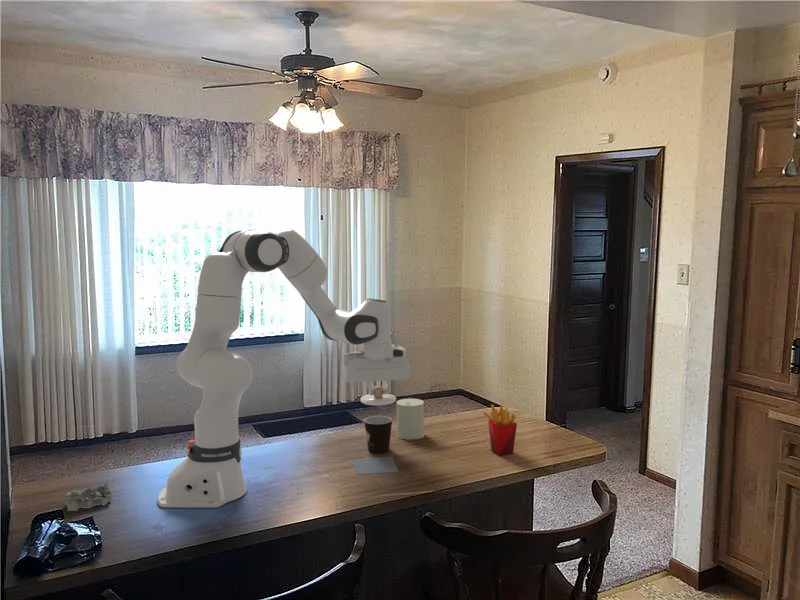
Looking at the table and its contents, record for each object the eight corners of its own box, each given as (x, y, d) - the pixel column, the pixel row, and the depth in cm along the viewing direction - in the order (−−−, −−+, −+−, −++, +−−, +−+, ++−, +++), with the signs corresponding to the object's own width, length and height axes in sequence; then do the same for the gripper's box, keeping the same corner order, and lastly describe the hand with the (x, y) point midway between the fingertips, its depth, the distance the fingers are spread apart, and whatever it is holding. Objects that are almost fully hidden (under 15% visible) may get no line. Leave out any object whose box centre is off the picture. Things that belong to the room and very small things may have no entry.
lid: (362, 406, 202) (362, 392, 201) (358, 396, 213) (358, 383, 212) (398, 404, 204) (398, 390, 203) (392, 394, 214) (392, 381, 214)
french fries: (506, 447, 210) (506, 401, 209) (520, 456, 203) (520, 408, 201) (481, 451, 207) (481, 404, 205) (494, 460, 200) (494, 411, 198)
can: (393, 439, 220) (392, 403, 218) (401, 430, 228) (400, 396, 227) (420, 441, 217) (419, 405, 216) (427, 432, 226) (427, 397, 224)
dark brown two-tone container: (392, 456, 204) (391, 424, 203) (363, 456, 204) (363, 424, 203) (393, 443, 216) (392, 413, 214) (366, 443, 216) (365, 413, 215)
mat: (356, 475, 189) (356, 474, 189) (352, 460, 201) (352, 459, 201) (398, 472, 191) (398, 471, 191) (392, 457, 203) (392, 456, 203)
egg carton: (66, 515, 167) (65, 499, 166) (65, 503, 173) (64, 488, 173) (112, 505, 172) (111, 490, 171) (110, 495, 178) (108, 480, 178)
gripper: (344, 354, 201) (345, 399, 203) (411, 351, 205) (412, 395, 206) (342, 350, 208) (343, 393, 209) (407, 347, 211) (408, 390, 213)
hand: (378, 394), depth 208 cm, fingers closed on lid, 3 cm apart
